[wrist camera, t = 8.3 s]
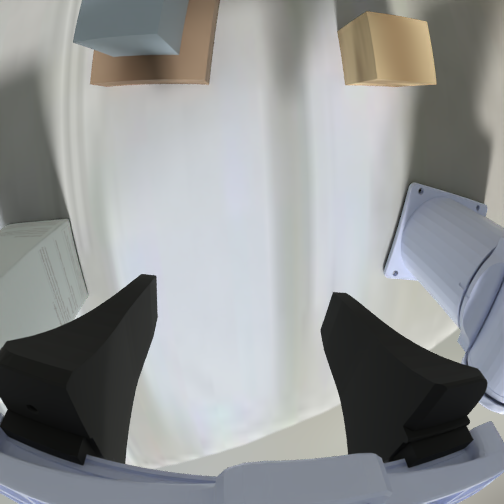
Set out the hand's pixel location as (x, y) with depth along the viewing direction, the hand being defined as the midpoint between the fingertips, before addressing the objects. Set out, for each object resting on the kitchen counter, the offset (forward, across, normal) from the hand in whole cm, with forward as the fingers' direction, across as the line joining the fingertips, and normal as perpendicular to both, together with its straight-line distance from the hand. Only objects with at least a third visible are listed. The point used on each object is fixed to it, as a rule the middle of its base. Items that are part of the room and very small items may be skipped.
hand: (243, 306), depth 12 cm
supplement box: (+10, +16, +5) cm, 20 cm away
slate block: (+7, +7, -12) cm, 16 cm away
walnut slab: (+10, +7, -12) cm, 17 cm away
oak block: (+10, -7, -13) cm, 18 cm away
